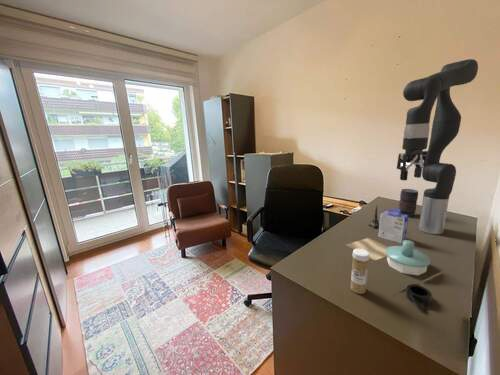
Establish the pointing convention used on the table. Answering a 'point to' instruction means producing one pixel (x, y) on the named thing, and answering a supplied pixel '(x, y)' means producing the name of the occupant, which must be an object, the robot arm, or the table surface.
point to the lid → (408, 255)
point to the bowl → (406, 268)
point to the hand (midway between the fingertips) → (410, 178)
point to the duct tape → (418, 295)
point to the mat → (370, 248)
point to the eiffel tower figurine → (374, 220)
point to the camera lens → (408, 202)
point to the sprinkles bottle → (359, 270)
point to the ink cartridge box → (393, 225)
